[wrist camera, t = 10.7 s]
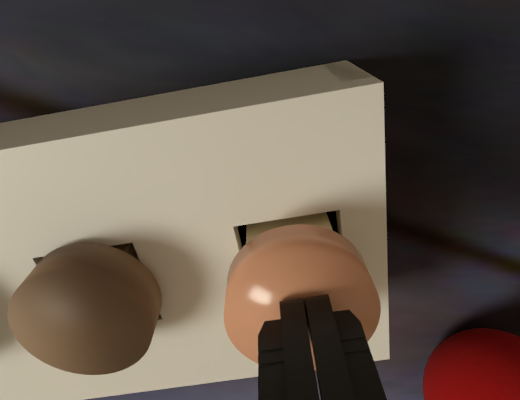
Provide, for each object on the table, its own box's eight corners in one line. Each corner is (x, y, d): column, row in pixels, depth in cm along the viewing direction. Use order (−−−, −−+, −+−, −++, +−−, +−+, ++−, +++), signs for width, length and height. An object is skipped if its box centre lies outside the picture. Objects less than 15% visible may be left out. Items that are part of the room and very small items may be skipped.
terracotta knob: (244, 265, 19) (240, 380, 13) (222, 176, 16) (207, 268, 11) (342, 250, 18) (382, 361, 13) (333, 158, 16) (378, 241, 10)
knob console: (-12, 338, 23) (-76, 420, 18) (-143, 149, 17) (-282, 200, 13) (360, 284, 21) (389, 358, 17) (346, 60, 16) (383, 82, 11)
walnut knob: (103, 274, 20) (44, 382, 14) (67, 193, 18) (-21, 283, 12) (192, 260, 20) (168, 365, 14) (166, 177, 17) (125, 261, 12)
